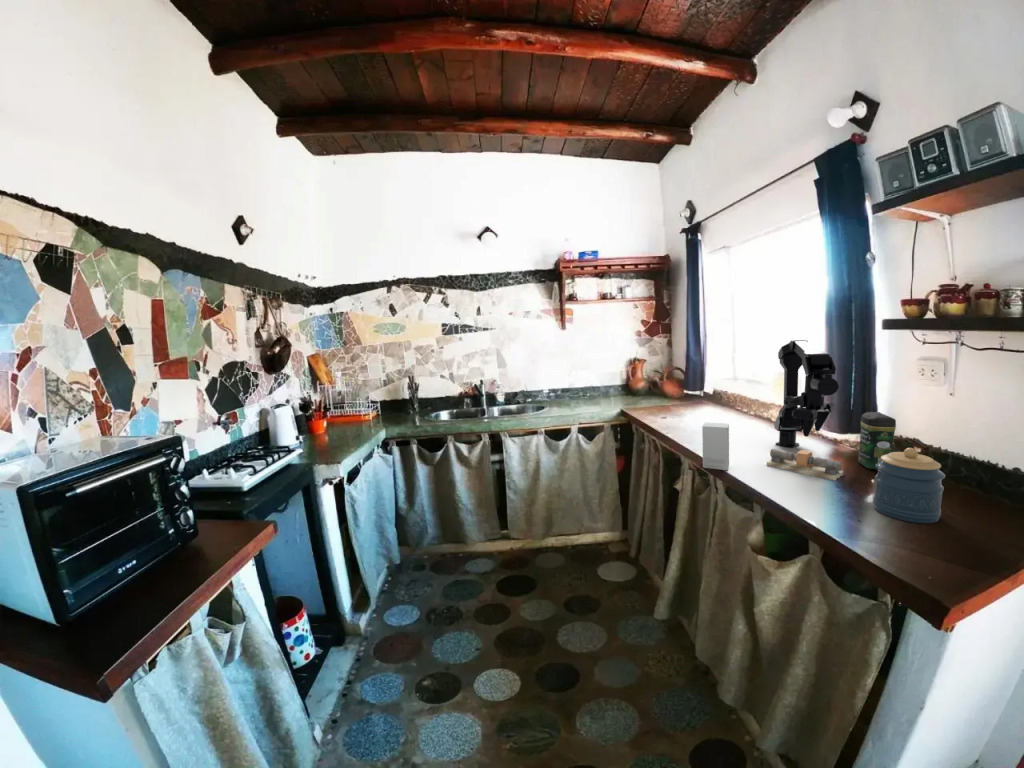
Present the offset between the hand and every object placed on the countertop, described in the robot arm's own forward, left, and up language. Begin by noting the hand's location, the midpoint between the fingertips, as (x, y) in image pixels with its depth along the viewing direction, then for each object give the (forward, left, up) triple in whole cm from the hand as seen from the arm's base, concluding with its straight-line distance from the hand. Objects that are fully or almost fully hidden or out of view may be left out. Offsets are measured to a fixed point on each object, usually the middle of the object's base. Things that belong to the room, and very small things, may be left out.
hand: (811, 433), depth 144 cm
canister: (+23, +29, -12) cm, 39 cm away
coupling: (+6, 0, -10) cm, 12 cm away
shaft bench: (+7, 0, -11) cm, 13 cm away
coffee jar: (-13, +14, -12) cm, 23 cm away
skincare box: (+25, -21, -12) cm, 34 cm away
